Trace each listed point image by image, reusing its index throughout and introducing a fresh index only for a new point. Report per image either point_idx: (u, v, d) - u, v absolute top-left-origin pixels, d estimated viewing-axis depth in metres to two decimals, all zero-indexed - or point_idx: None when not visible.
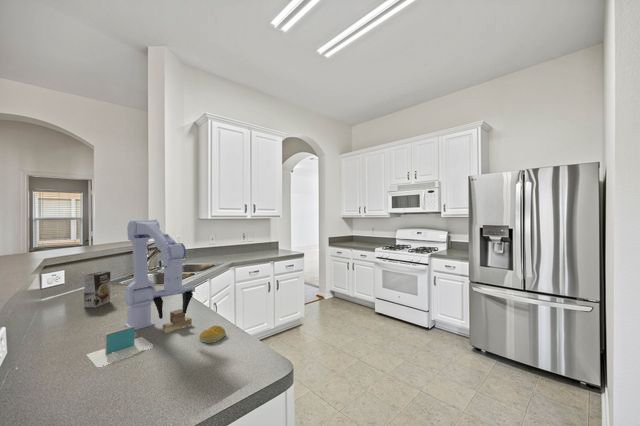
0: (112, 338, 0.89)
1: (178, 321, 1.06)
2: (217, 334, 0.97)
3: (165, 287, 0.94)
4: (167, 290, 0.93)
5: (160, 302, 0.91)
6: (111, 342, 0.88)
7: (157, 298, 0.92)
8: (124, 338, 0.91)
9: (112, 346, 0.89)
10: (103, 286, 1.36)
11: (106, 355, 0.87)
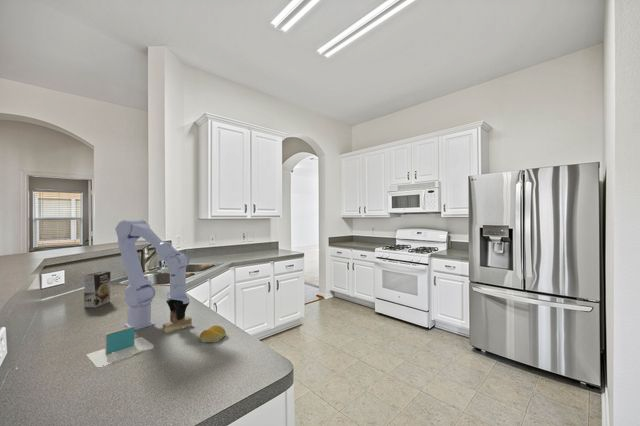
0: (112, 338, 0.89)
1: (178, 321, 1.06)
2: (217, 334, 0.98)
3: None
4: None
5: (168, 303, 1.08)
6: (111, 342, 0.88)
7: None
8: (124, 338, 0.91)
9: (112, 346, 0.89)
10: (103, 286, 1.36)
11: (106, 355, 0.87)
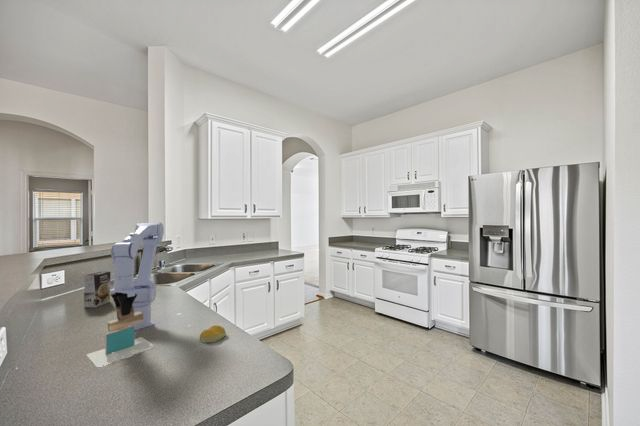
0: (112, 338, 0.89)
1: (125, 317, 0.95)
2: (217, 334, 0.98)
3: None
4: None
5: (112, 296, 0.96)
6: (111, 342, 0.88)
7: (115, 291, 0.98)
8: (124, 338, 0.91)
9: (112, 346, 0.89)
10: (103, 286, 1.36)
11: (106, 355, 0.87)
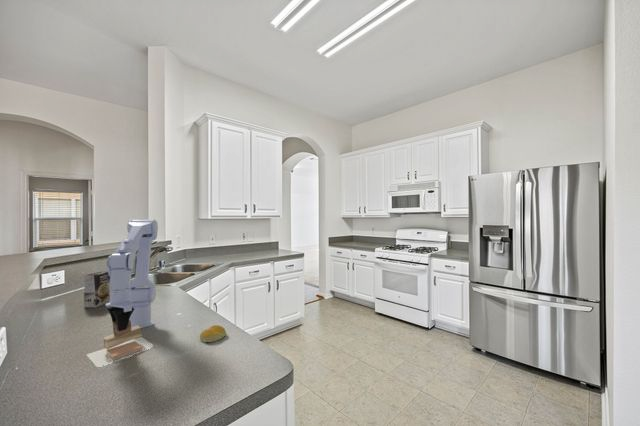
0: None
1: (122, 333, 0.90)
2: (217, 334, 0.98)
3: None
4: None
5: (108, 310, 0.91)
6: None
7: None
8: None
9: None
10: (103, 286, 1.36)
11: (106, 355, 0.87)
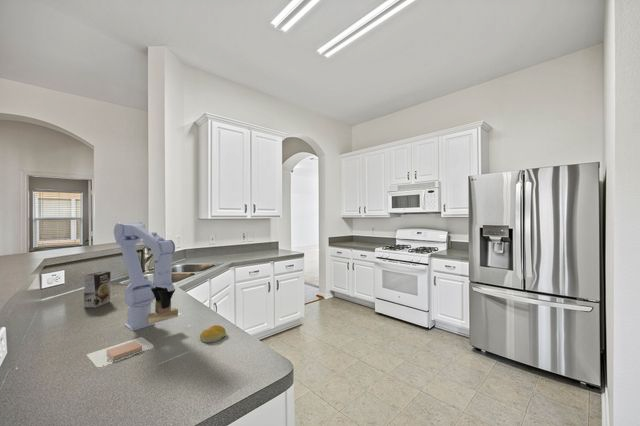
0: None
1: (163, 311, 1.02)
2: (217, 333, 0.98)
3: None
4: None
5: (152, 290, 1.03)
6: None
7: None
8: None
9: None
10: (103, 286, 1.36)
11: (106, 355, 0.87)
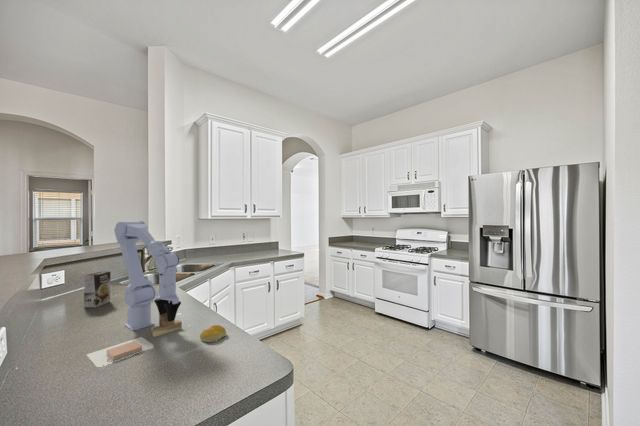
0: None
1: (167, 324, 1.03)
2: (218, 333, 0.98)
3: None
4: None
5: (155, 302, 1.06)
6: None
7: None
8: None
9: None
10: (103, 286, 1.36)
11: (106, 355, 0.87)
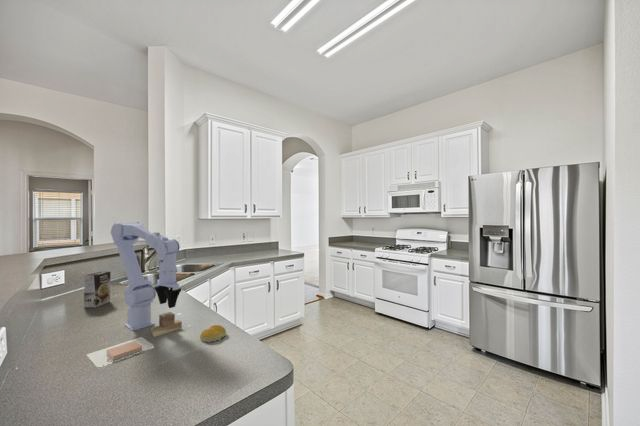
0: None
1: (167, 324, 1.03)
2: (218, 333, 0.98)
3: None
4: None
5: (155, 289, 1.06)
6: None
7: None
8: None
9: None
10: (103, 286, 1.36)
11: (106, 355, 0.87)
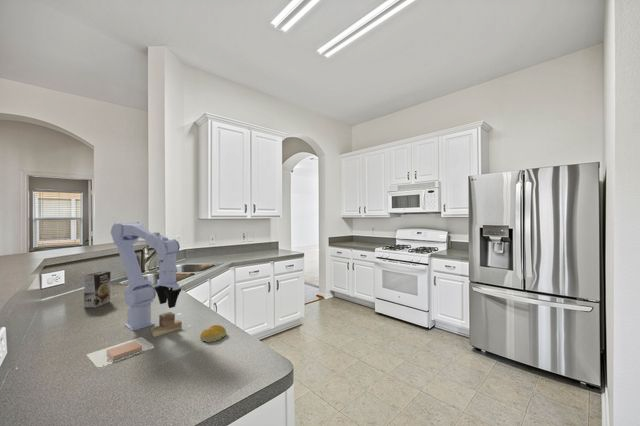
0: None
1: (167, 324, 1.03)
2: (218, 333, 0.98)
3: None
4: None
5: (155, 289, 1.06)
6: None
7: None
8: None
9: None
10: (103, 286, 1.36)
11: (106, 355, 0.87)
